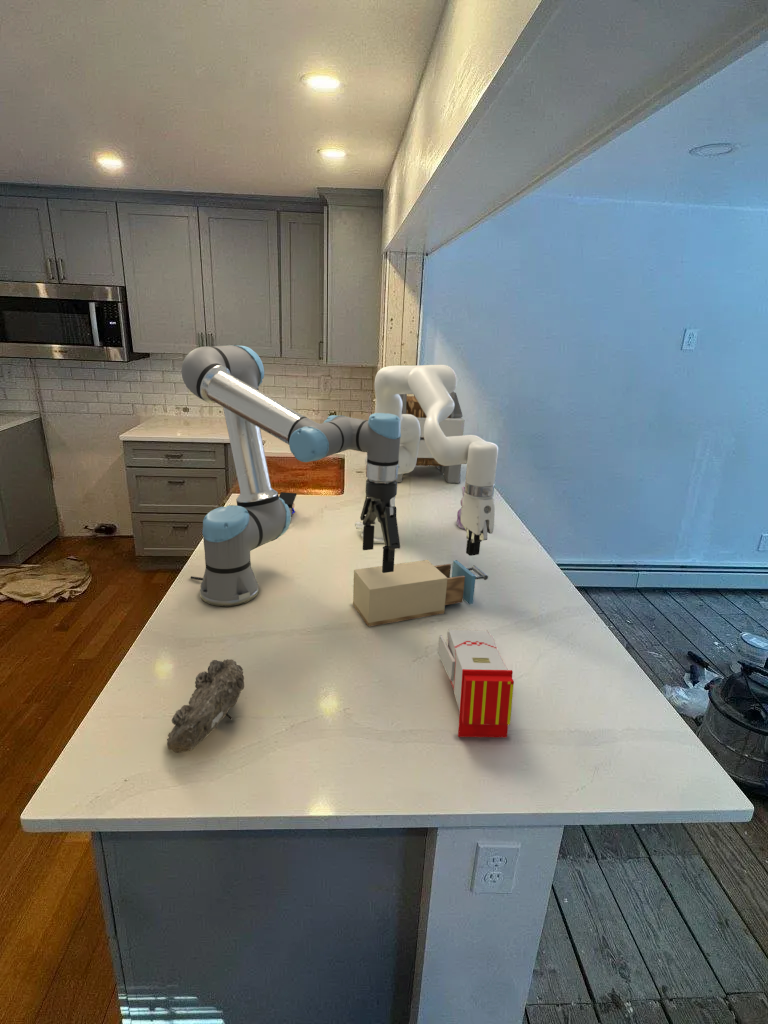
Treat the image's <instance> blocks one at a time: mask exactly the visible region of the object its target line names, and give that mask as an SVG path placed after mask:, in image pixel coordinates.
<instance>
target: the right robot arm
mask: <svg viewBox="0 0 768 1024" xmlns="http://www.w3.org/2000/svg"><path fill="white" fill-rule="evenodd" d="M373 386H374V394H375V409H374V413H389V414H394V415H397V416H398V417H399V418H400V420H401V438H400V447H399V462H398V465H399V466H400V467H399V469H398V474H403V475H404V474H409V473H411V472H413V471H414V470H415V467H417V466H416V462H417V455H418V448H419V442H420V433H421V430H420V424H419V421H418V419H417V418H416V417H415V416H414V415H411V414H402V406H403V404H402V399H401V397H400V395H399V394H407V395H414V396H415V397H416V399H417V401H418V402H419V404H420V406H421V408H422V409H423V411H424V413H425V415H426V417H427V418H426V420H425V424H424V439H425V443H426V445H427V447H428V449H429V451H430V452H431V454H432V456H433V457H434V459H435V460H436V461H437V462H438V463H439V464H441V465H444V466H451V465H458V464H461V465H466V471H465V479H464V487H465V491H464V497H463V496H462V497H463V502H462V506H461V507H462V508H460V509H461V524H462V525H463V527H464V528H465V529H464V530H465V537H466V546H465V547H466V549H465V554H467V555H468V556H470V557H473V556H478V555H480V551H481V550H480V549H481V542H482V541H487V540H488V534H490V535H491V534H493V533H494V529H495V515H496V514H495V513H496V512H495V511H496V507H495V498H494V493H495V485H496V474H497V465H498V457H499V446H498V445H497V443H494V442H491V441H486V440H484V439H483V438H482V437H480V436H478V435H475V434H465V435H464V434H463V436H451V437H446V436H445V435H444V433H443V432H442V430H441V428H440V426H439V423H440V422H442V421H443V420H445V419H446V418H447V417H448V416H449V415H450V414H451V413H452V412H453V410H454V406H455V405H454V401H453V399H452V398H451V396H450V395H449V394H450V393H452V392H453V391H454V392H455V390H456V388H457V386H458V377H457V374H456V372H455V370H454V369H453V368H452V366H449V365H447V364H422V365H421V364H420V365H419V364H418V365H404V364H403V365H402V364H401V365H400V364H399V365H388V366H383V367H381V368H380V369H379V370H378V371H377V372H376V374H375V376H374V385H373ZM364 462H365V463H364V465H365V467H366V466H367V454H366V455H365V459H364ZM367 479H368V478H367V477H366V480H367ZM390 504H391V507H394V506H396V496H395V497H393V498H392V499H391V500H390ZM372 525H374V544H385V543H384V538H383V533H382V529H381V524H380V522H378V519H377V518H376V519H375V524H372ZM372 525H371V526H372ZM354 527H355V529H356V530H361V534H360V535H361V538H362V539H363V529H364V525H363V521H355V522H354Z"/></svg>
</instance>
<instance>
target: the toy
mask: <svg viewBox="0 0 768 1024" xmlns="http://www.w3.org/2000/svg"><path fill="white" fill-rule="evenodd" d="M446 640H447V643H446V641H445V639H444V636H443V635H442V634H439V637H438V646H437V656H438V657H439V659H440V661H441V663H442V666H443V668H444V670H445V672H446V674H447V677H448V679H449V681H450V684H451V687H452V690H453V693H454V697H455V701H456V705H457V708H458V711H459V714H458V715H459V716H458V730H457V731H458V732H457V737H458V738H508V731H509V726H510V725H511V717H512V707H513V697H514V696H513V695H514V684H515V680H514V679H513V673H514V671H513V670H512V669H508V667H507V665H506V662H505V661H504V659H503V658H502V655H501V653H500V651H499V649H498V647H497V643H496V639H495V637H494V635H493V634H491V632H490V631H489V629H467V628H466V629H465V628H463V629H461V628H460V629H459V628H448V630H447V639H446Z"/></svg>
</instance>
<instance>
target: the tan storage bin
mask: <svg viewBox="0 0 768 1024" xmlns="http://www.w3.org/2000/svg"><path fill="white" fill-rule="evenodd" d="M435 566H436V565H434V564H433V563H431V561H429V560H428V559H423V560H418V561H408V562H402V563H394V572H387V573H383V572H382V565H379V566H372V567H364V568H356V569H353V585H352V586H353V590H352V606H353V608H354V609H355V610H356V611H357V613H358V615H359V616H360V618H361V619H362V620H363V621H364V623H365V625H366V626H367V627H376V626H381V625H385V624H392V623H398V622H404V621H408V620H415V619H420V618H421V619H422V618H426V617H431V616H437V615H442V614H443V615H444V614H445V609H446V608H445V607H446V605H445V598H446V587H447V577H446V576H445V575H444V574H442V573H441V572H440V571H439V570H438V569H437V568H436V567H435Z"/></svg>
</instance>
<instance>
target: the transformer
mask: <svg viewBox="0 0 768 1024" xmlns="http://www.w3.org/2000/svg"><path fill="white" fill-rule="evenodd" d="M399 395H400V397H401V399H402V404H403V406H402V414H411V415H414V416H415V417H416V418H417V419H418V421H419V424H420V430H421V433H420V442H419V448H418V455H417V462H416V466H415V467H417V466H418V467H436V468H437V470H438V469H439V473H440V474H441V475H443V478H444V479H445V481H446V482H447V483H449V484H455V483H456V484H459V483H461V472H462V464H458V465H451V466H444V465H441V464H439V463H438V462H437V461H436V460H435V459H434V457H433V456H432V454H431V452H430V451H429V449H428V447H427V445H426V443H425V439H424V424H425V420H426V418H427V417H426V415H425V413H424V411H423V409H422V408H421V406H420V404H419V402H418V401H417V399H416V397H415V395H414V396H413V395H412V396H411V395H408V394H399ZM449 395H450V396H451V398H452V399H453V401H454V405H455V406H454V410H453V412H452V413H451V414H450V415H449V416H448V417H447V418H446V419H445V420H443V421H442V422H440V423H439V426H440V428H441V430H442V432H443V433H444V435H445V436H446V437H451V436H464V431H465V430H464V429H465V419H464V418H463V411H462V408H461V405H460V402H459V398H458V395H457V392H455V390H454V391H453V392H452V393H450V394H449ZM403 475H404V474H398V478H397V479H396V481H397V483H402V482H403Z"/></svg>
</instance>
